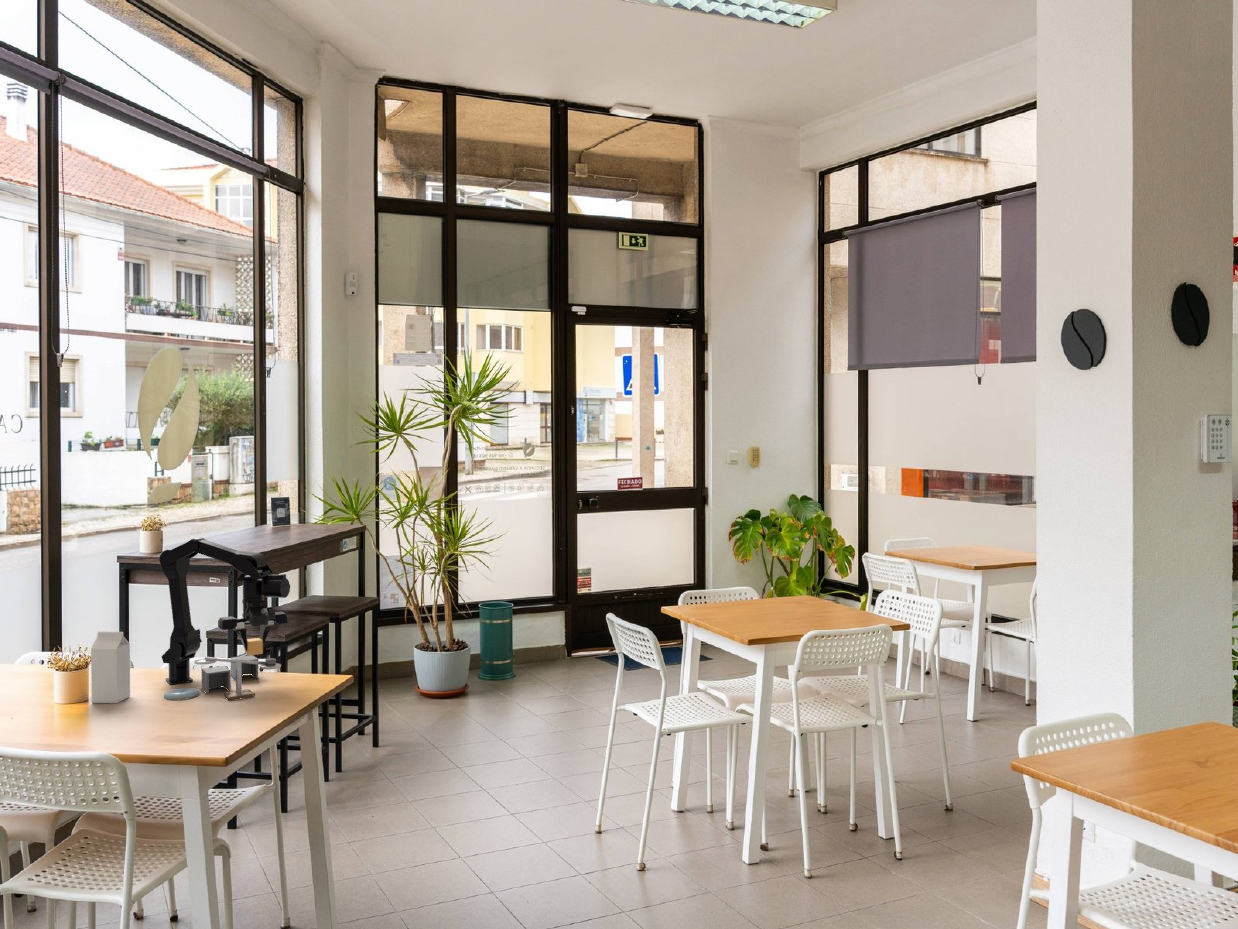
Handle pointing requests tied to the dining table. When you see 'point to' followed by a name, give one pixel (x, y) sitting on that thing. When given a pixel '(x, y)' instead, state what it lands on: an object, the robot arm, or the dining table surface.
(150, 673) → the dining table surface
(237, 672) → the balance scale
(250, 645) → the orange block
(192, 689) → the slate dish
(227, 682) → the grey cube box
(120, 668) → the milk carton
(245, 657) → the hiding cup
